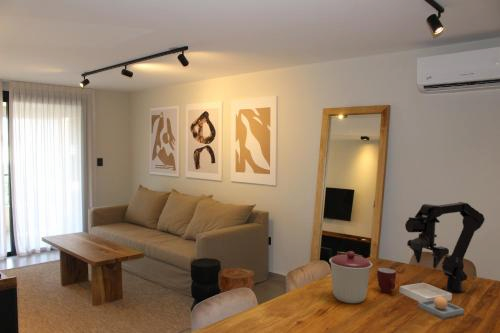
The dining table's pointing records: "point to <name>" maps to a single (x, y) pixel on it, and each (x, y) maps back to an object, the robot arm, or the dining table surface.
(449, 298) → the dish
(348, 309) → the dining table surface
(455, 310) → the tray
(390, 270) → the mug
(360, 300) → the canister
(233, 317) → the dining table surface
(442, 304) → the ball
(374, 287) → the dining table surface
